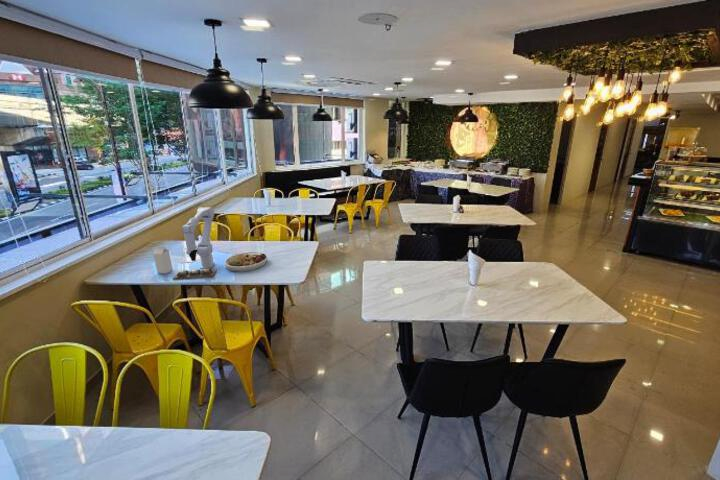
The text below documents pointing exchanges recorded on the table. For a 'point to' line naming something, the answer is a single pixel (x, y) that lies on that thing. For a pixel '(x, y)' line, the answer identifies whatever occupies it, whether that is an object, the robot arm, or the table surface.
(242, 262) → the bowl
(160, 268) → the milk carton
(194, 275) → the panel
